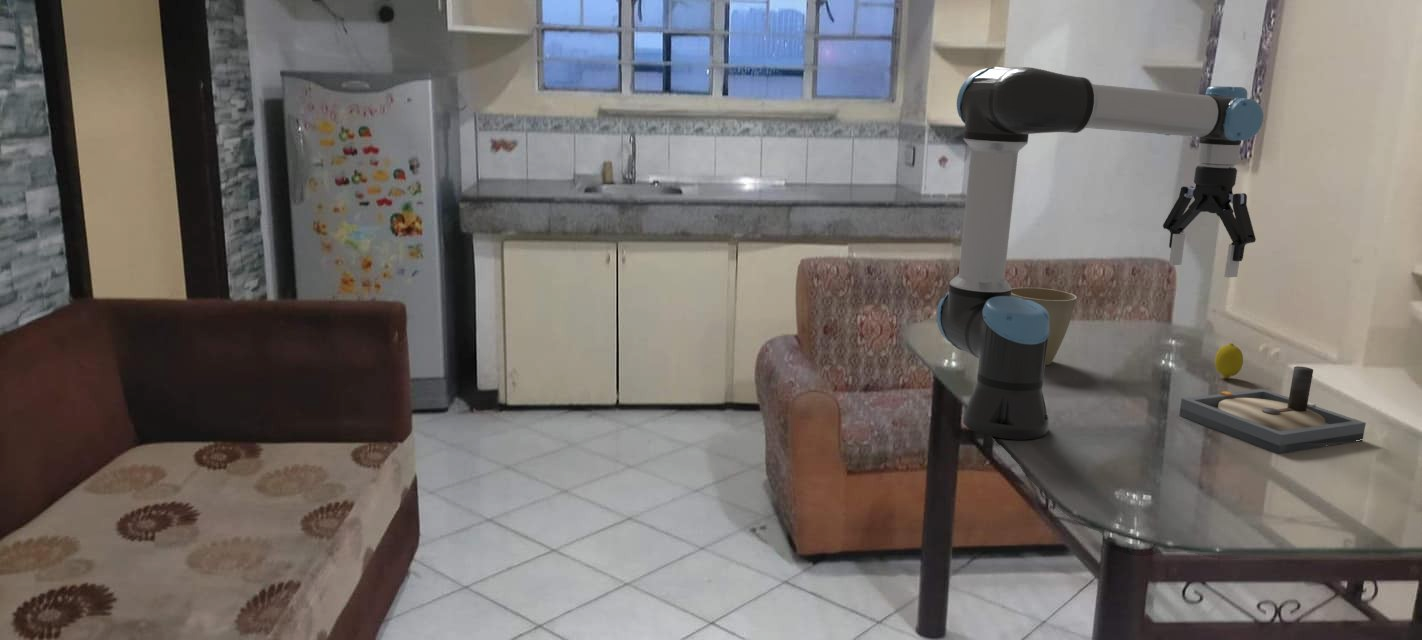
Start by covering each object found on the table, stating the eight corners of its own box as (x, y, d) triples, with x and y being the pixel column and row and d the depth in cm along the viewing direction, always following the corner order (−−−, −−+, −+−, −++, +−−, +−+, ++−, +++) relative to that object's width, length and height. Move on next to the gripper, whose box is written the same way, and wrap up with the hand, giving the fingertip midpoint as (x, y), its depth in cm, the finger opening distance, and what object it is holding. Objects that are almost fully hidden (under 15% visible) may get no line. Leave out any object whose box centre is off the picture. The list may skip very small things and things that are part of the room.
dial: (1277, 440, 187) (1286, 389, 184) (1196, 409, 203) (1203, 362, 200) (1346, 430, 194) (1355, 380, 191) (1262, 401, 210) (1270, 355, 207)
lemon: (1211, 379, 230) (1217, 344, 229) (1213, 373, 235) (1218, 339, 233) (1239, 383, 228) (1245, 348, 226) (1240, 377, 233) (1245, 342, 231)
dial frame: (1277, 453, 184) (1281, 432, 183) (1179, 415, 204) (1181, 396, 203) (1362, 440, 193) (1366, 420, 192) (1259, 405, 213) (1262, 386, 212)
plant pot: (1077, 371, 233) (1086, 301, 229) (1010, 369, 233) (1017, 299, 229) (1057, 354, 247) (1065, 288, 244) (994, 351, 248) (1001, 285, 244)
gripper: (1286, 171, 199) (1269, 281, 203) (1179, 160, 221) (1166, 259, 225) (1259, 172, 195) (1242, 283, 200) (1153, 160, 217) (1140, 260, 222)
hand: (1202, 270), depth 213 cm, fingers open, 13 cm apart
